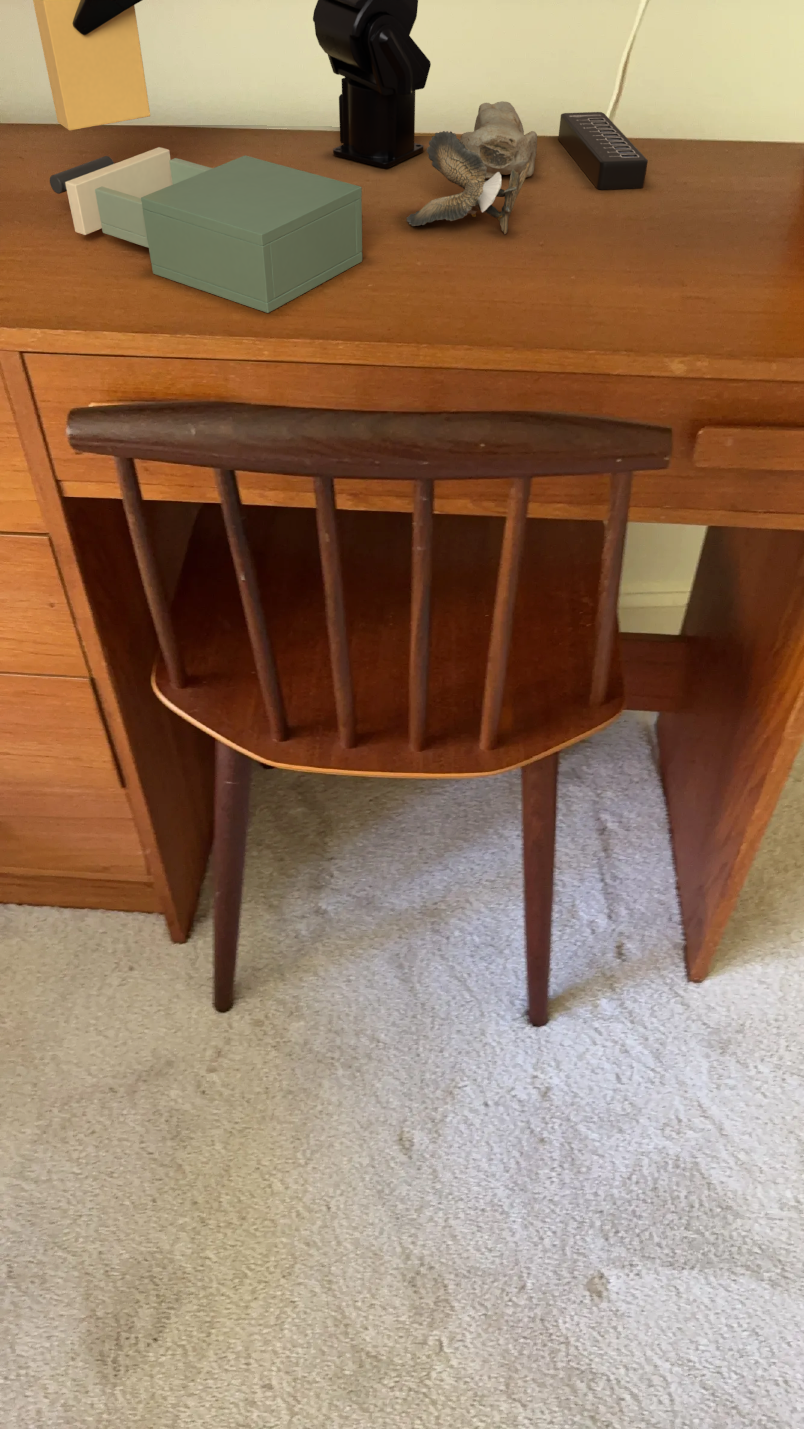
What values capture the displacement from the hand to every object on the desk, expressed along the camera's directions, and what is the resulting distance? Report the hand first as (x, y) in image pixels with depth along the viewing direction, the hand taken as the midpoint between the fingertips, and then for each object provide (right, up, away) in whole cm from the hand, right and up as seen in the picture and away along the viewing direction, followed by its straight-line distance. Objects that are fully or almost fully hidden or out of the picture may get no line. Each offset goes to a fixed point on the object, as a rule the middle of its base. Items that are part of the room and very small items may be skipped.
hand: (70, 26), depth 79 cm
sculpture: (+34, 0, +20) cm, 39 cm away
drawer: (+4, -12, +6) cm, 14 cm away
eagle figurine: (+30, -11, +9) cm, 33 cm away
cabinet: (+14, -17, +2) cm, 22 cm away
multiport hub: (+44, 0, +20) cm, 48 cm away
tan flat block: (+1, -4, +5) cm, 7 cm away
